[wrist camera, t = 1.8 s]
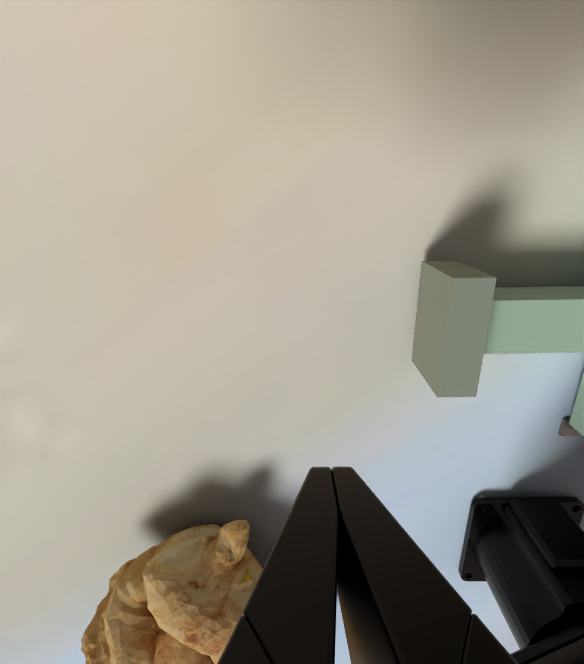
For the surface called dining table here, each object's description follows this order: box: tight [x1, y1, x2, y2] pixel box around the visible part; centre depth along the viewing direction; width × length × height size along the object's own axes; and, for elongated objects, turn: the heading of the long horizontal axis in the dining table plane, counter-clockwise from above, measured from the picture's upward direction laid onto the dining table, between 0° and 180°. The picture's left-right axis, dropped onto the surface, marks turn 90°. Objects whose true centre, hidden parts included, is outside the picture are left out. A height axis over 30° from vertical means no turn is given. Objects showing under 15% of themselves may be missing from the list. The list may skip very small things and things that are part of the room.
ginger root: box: [81, 520, 263, 664], centre depth 23 cm, size 16×16×8 cm
